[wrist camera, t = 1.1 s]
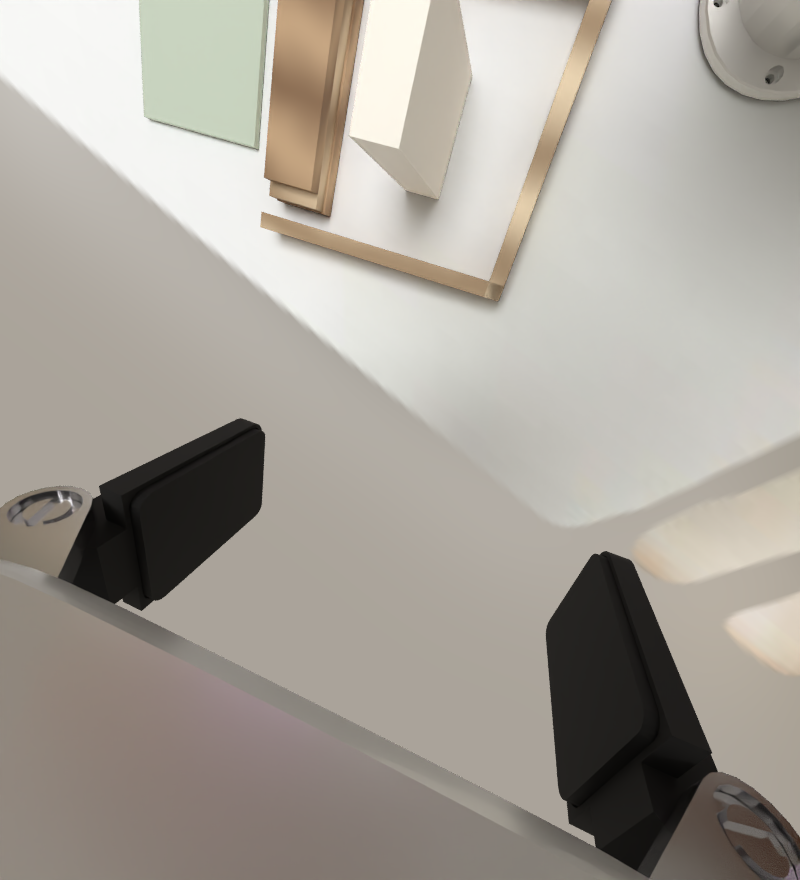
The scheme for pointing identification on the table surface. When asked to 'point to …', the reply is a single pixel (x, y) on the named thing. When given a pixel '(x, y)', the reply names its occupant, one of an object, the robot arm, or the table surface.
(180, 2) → the mat
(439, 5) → the cream rectangular block
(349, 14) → the offcut stack
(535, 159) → the frame
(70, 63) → the table surface
